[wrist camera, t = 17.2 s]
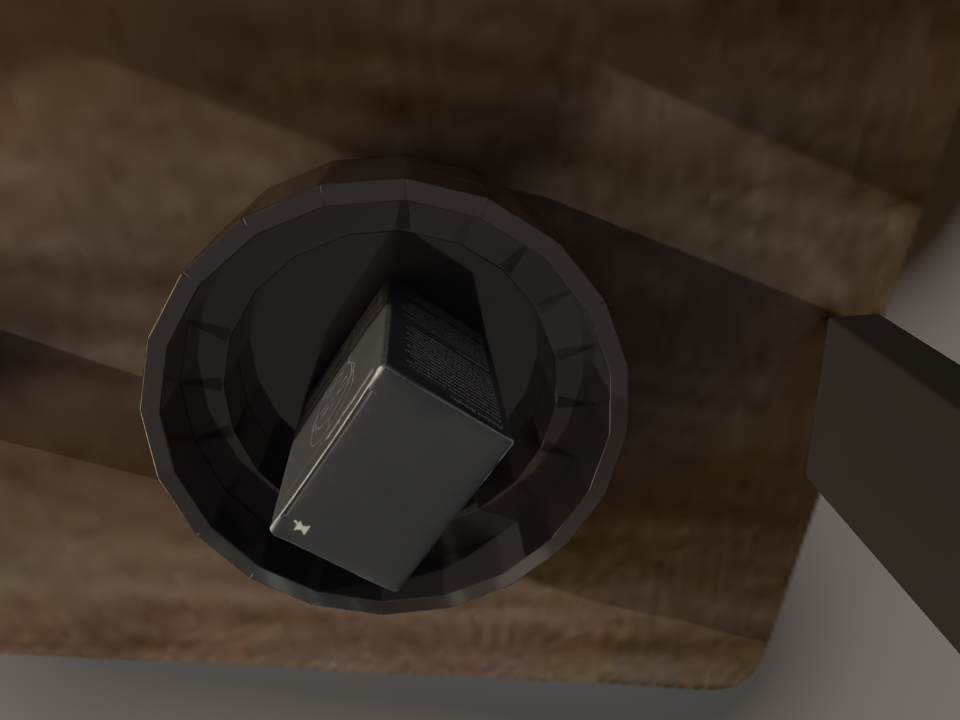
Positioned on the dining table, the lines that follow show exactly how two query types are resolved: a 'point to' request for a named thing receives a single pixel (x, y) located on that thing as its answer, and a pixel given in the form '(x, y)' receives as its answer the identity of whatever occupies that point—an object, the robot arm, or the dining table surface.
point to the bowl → (323, 329)
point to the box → (392, 439)
